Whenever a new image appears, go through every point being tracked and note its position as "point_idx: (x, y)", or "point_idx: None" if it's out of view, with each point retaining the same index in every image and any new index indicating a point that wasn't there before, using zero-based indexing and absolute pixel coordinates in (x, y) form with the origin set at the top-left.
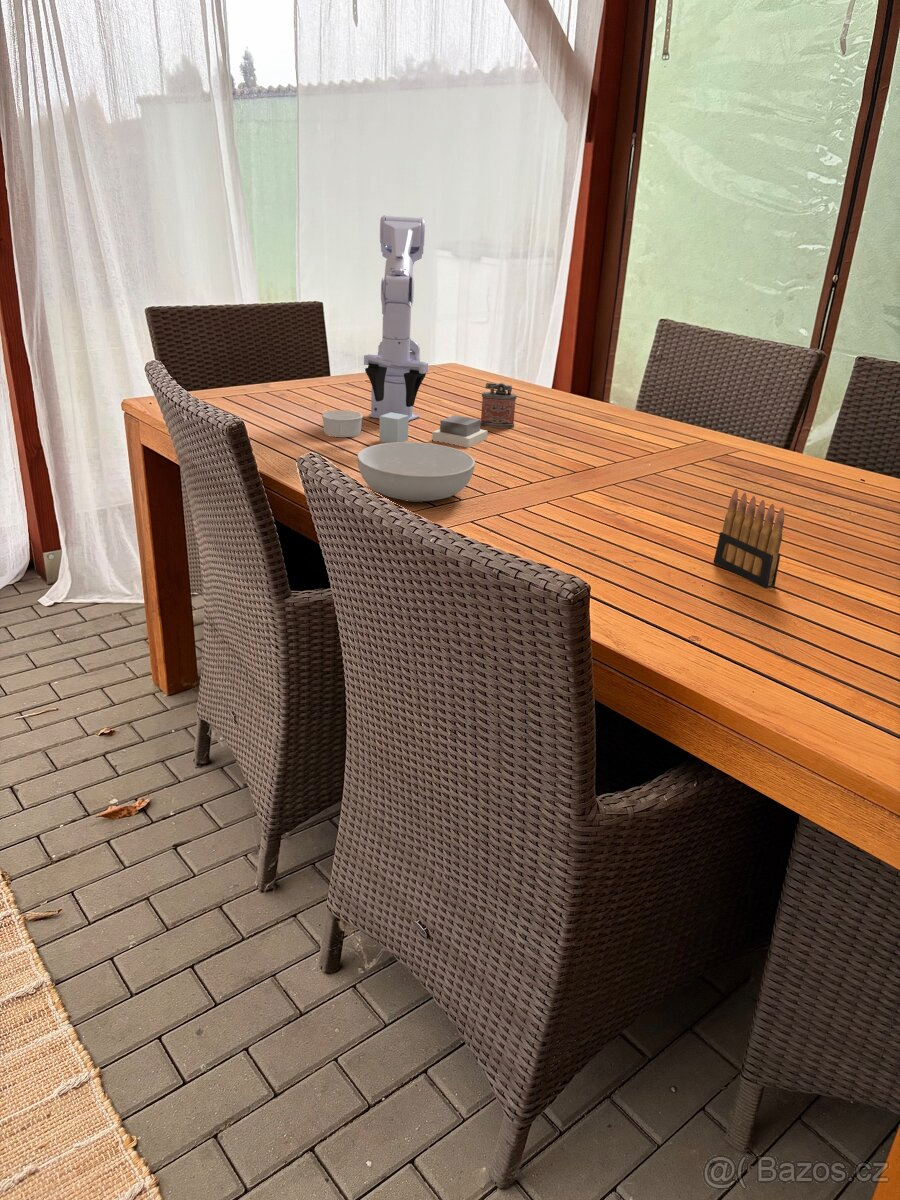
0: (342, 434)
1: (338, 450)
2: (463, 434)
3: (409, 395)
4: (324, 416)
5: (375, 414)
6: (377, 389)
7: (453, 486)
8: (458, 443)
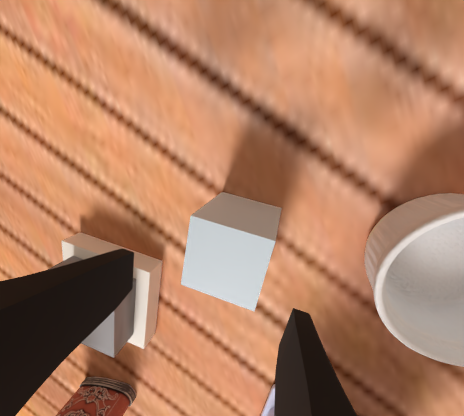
0: (425, 198)
1: (394, 13)
2: (77, 260)
3: (59, 267)
4: None
5: None
6: (298, 373)
7: None
8: (98, 241)
